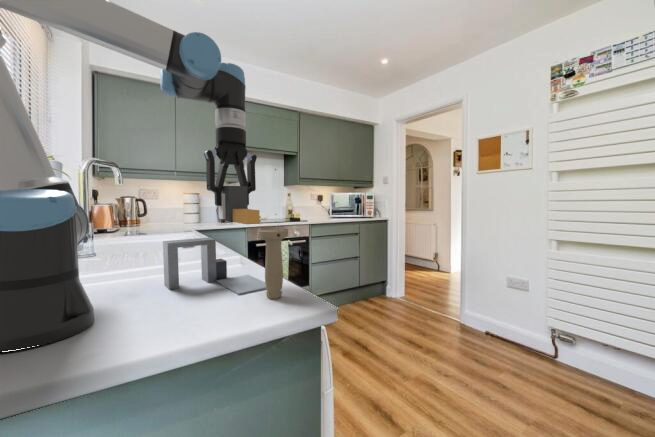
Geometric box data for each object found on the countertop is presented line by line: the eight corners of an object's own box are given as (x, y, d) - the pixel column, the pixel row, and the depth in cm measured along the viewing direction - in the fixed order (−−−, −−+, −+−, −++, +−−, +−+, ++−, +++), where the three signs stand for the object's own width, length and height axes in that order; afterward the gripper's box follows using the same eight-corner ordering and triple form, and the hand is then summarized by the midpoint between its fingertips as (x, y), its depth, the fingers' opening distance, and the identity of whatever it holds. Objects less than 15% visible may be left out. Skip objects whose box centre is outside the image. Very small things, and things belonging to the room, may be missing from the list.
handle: (256, 297, 67) (255, 230, 66) (281, 291, 71) (281, 228, 70) (265, 303, 63) (264, 232, 62) (292, 297, 67) (291, 230, 66)
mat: (238, 295, 69) (238, 293, 68) (216, 281, 79) (216, 280, 79) (273, 287, 74) (273, 285, 74) (248, 276, 85) (248, 274, 85)
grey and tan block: (262, 223, 73) (262, 185, 72) (243, 224, 69) (243, 185, 68) (236, 218, 84) (236, 186, 83) (218, 219, 80) (218, 185, 80)
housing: (169, 289, 72) (167, 243, 72) (164, 285, 76) (162, 241, 75) (227, 279, 82) (226, 238, 81) (220, 275, 85) (219, 236, 85)
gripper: (199, 120, 69) (202, 220, 71) (268, 131, 81) (269, 217, 83) (189, 125, 75) (192, 219, 76) (255, 135, 87) (256, 216, 88)
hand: (232, 218), depth 80 cm, fingers closed on grey and tan block, 5 cm apart
